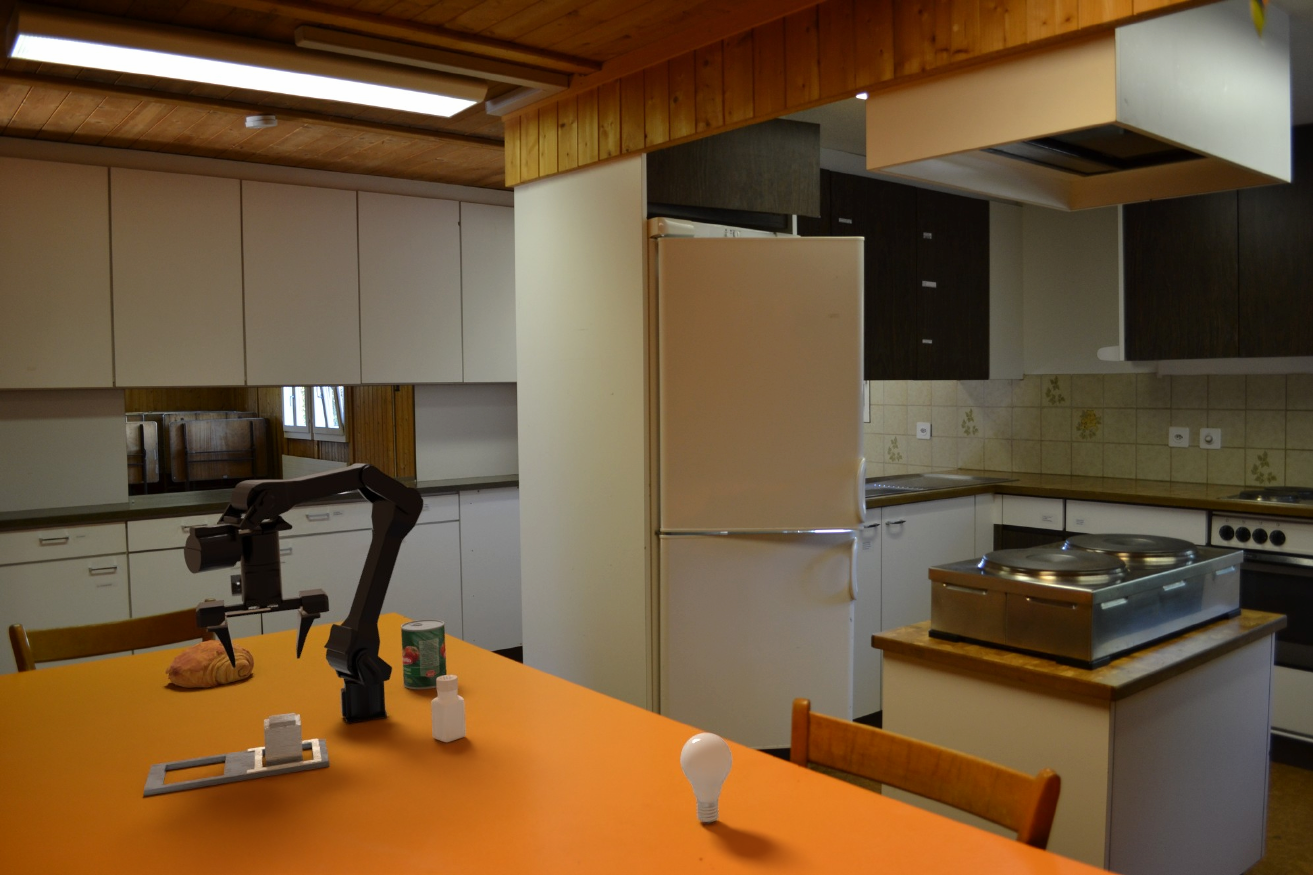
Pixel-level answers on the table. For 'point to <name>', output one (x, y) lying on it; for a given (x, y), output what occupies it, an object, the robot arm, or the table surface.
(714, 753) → the lightbulb
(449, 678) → the pepper shaker
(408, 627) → the canned tomato
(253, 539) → the robot arm
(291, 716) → the grey upright rectangular block
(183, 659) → the croissant
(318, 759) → the rail
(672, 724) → the table surface
